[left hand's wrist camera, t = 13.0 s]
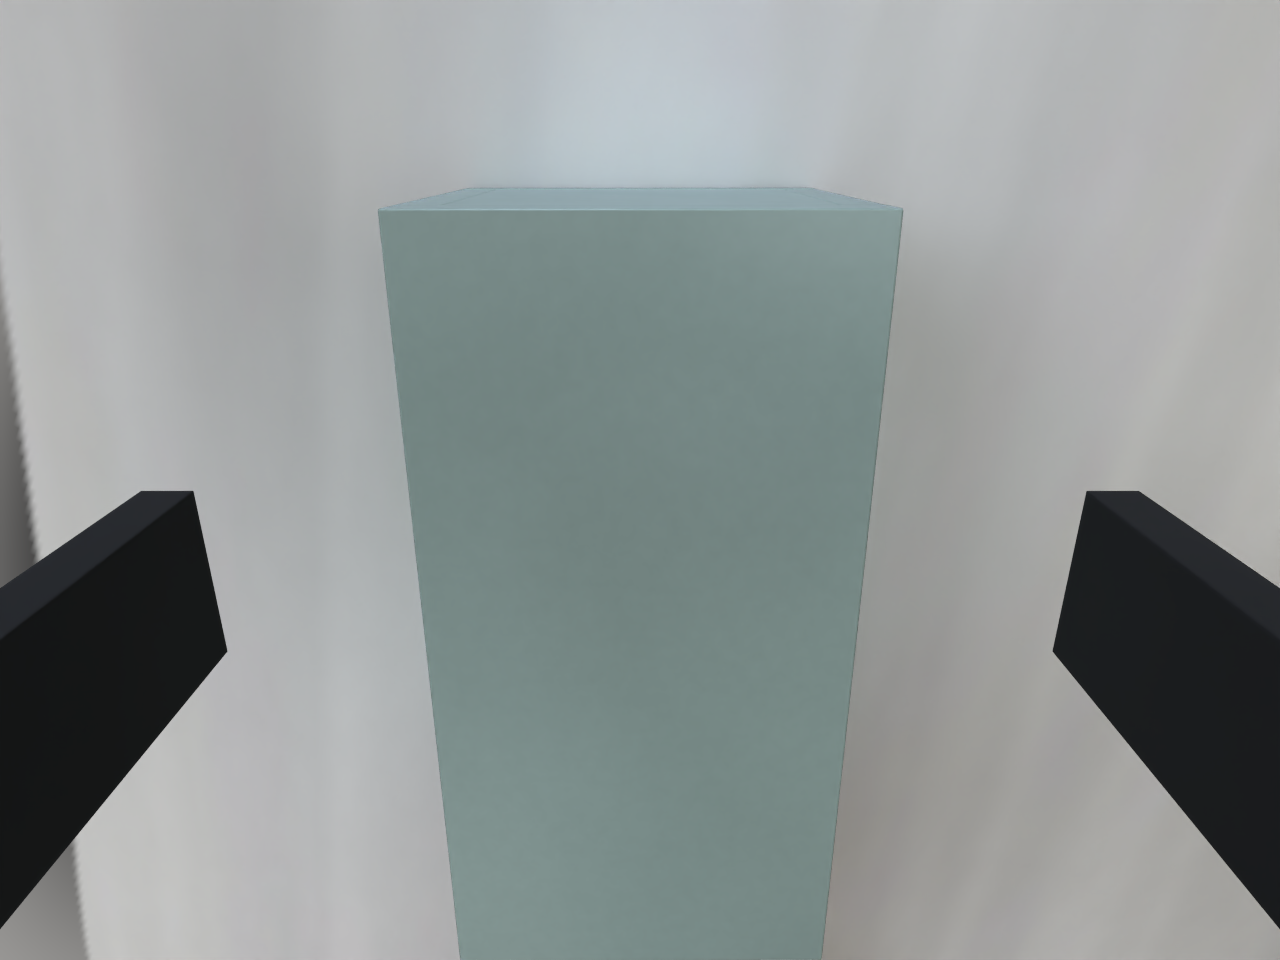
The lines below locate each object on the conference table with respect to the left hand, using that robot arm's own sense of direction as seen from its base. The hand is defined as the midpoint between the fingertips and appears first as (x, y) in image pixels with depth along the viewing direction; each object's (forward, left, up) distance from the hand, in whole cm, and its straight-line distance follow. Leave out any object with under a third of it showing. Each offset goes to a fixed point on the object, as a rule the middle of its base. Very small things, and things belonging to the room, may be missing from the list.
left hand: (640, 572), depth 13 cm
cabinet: (+5, -4, -16) cm, 17 cm away
